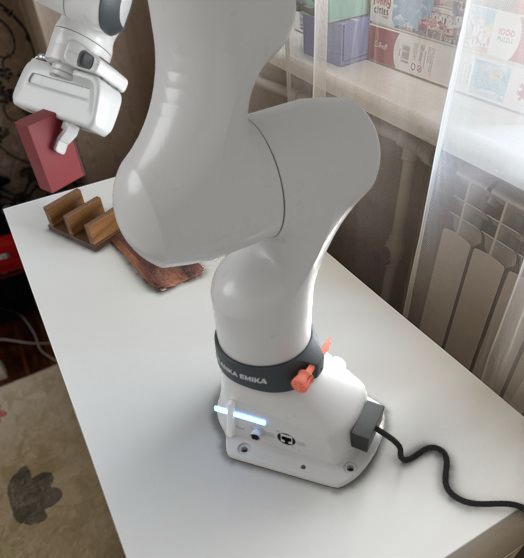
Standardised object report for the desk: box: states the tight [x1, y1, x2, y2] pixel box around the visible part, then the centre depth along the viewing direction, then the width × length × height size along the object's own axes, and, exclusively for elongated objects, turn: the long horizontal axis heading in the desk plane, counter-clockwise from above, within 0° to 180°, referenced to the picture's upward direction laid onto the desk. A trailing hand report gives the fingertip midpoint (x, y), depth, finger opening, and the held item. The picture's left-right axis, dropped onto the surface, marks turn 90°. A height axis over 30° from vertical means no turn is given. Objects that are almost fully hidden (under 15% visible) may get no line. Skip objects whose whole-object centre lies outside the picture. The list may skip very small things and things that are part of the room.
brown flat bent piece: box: [111, 232, 205, 293], centre depth 100 cm, size 26×2×10 cm
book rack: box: [42, 187, 121, 253], centre depth 104 cm, size 14×9×5 cm, turn 54°
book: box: [14, 109, 87, 194], centre depth 85 cm, size 3×7×11 cm, turn 144°
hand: (47, 148), depth 84 cm, fingers closed on book, 3 cm apart
